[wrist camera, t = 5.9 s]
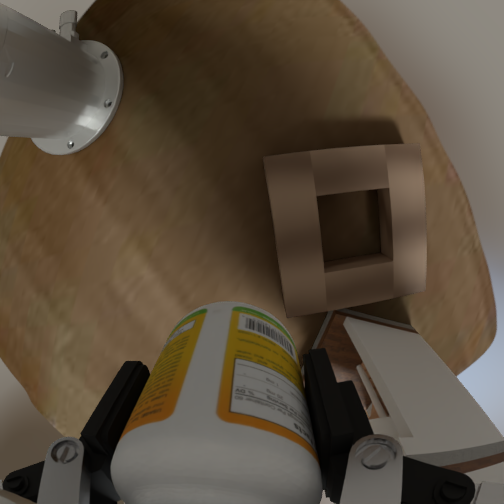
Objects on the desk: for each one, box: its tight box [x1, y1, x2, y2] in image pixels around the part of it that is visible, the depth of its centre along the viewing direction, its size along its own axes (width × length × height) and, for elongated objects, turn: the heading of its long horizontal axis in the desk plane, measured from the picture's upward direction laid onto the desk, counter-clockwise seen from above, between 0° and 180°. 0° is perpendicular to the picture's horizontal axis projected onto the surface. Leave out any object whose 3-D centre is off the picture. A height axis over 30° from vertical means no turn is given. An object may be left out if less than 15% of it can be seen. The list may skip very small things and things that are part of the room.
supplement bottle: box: [110, 301, 323, 504], centre depth 7 cm, size 5×5×10 cm
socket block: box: [263, 143, 427, 318], centre depth 26 cm, size 14×14×3 cm
